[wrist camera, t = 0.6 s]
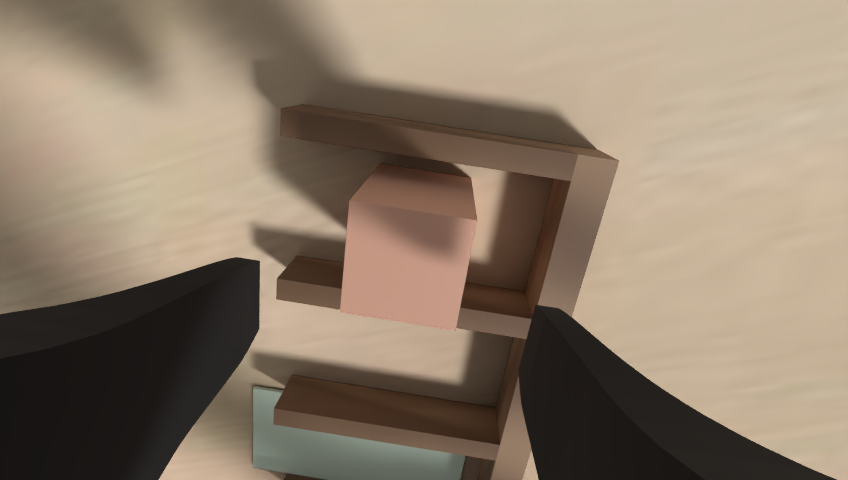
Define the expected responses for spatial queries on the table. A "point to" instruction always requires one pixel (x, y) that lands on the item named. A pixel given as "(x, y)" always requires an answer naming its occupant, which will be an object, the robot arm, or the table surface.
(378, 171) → the terracotta block
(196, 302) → the robot arm
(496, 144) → the notched rack
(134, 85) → the table surface
